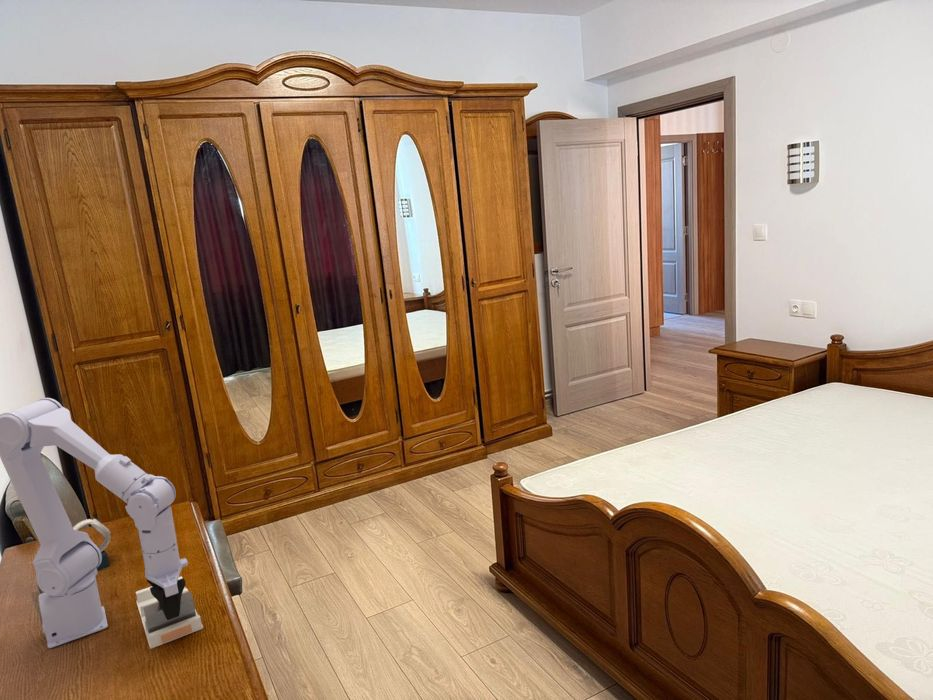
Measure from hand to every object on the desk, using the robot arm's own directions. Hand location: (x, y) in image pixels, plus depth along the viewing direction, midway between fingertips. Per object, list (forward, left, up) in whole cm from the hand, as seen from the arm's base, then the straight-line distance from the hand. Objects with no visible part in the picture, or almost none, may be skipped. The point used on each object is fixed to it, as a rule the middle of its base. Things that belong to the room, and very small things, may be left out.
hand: (171, 612), depth 114 cm
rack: (0, +6, -4) cm, 7 cm away
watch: (-10, +37, -4) cm, 38 cm away
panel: (0, 0, -3) cm, 3 cm away
